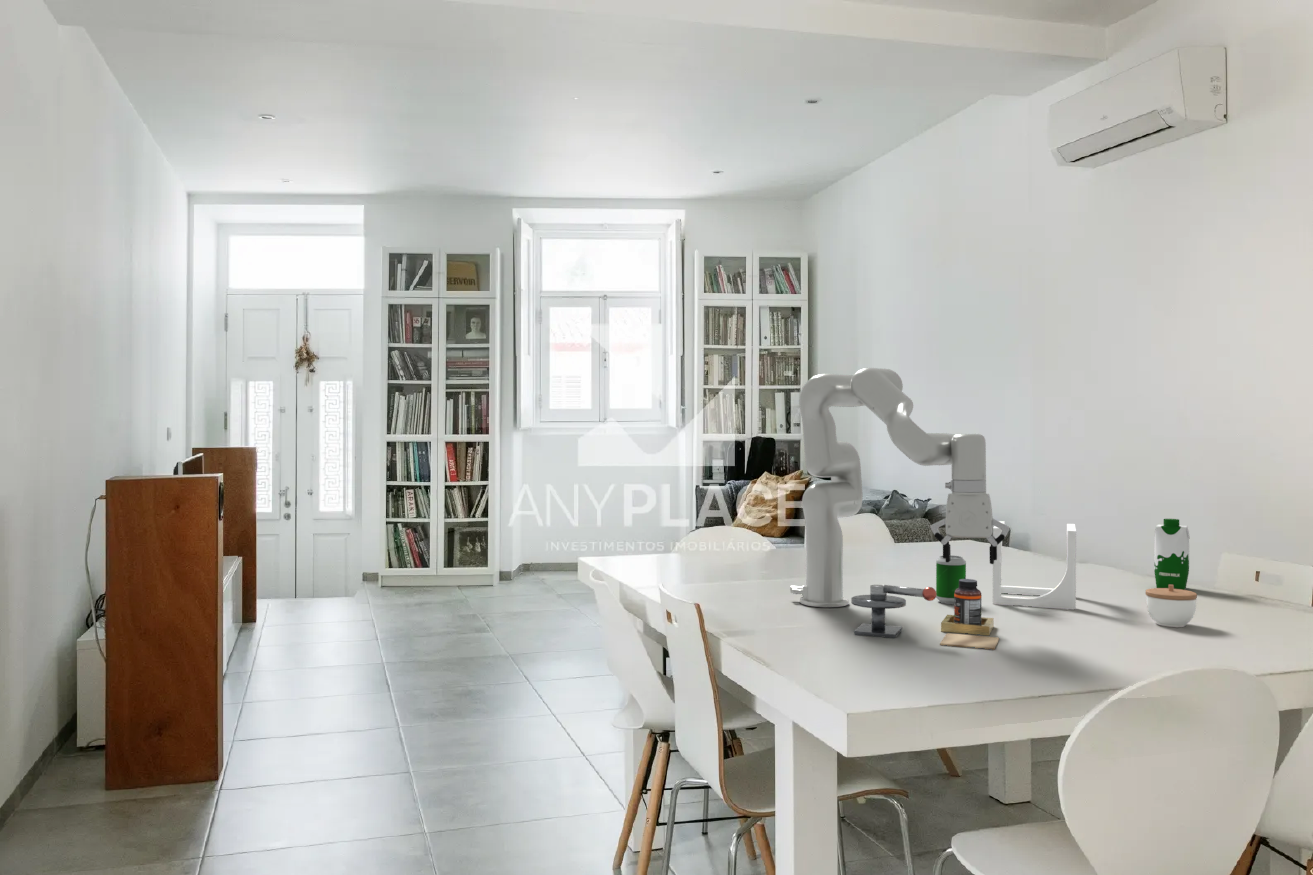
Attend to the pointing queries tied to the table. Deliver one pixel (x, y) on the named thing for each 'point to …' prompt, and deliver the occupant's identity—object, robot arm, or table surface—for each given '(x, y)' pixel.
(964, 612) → the supplement bottle
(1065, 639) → the table surface
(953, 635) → the cork mat
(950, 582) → the soda can
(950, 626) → the square wooden frame
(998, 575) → the bookend
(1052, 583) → the table surface
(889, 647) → the table surface
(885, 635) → the grey pedestal base
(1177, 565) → the milk carton
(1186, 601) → the lidded jar
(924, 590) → the handwheel
